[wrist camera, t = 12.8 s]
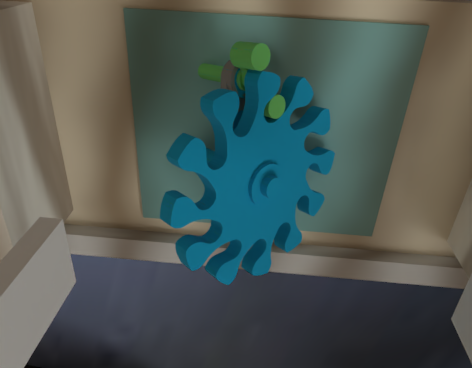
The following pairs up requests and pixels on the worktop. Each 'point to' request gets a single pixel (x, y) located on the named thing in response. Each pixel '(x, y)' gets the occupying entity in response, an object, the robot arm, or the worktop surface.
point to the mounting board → (197, 124)
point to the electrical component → (30, 366)
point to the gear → (248, 166)
